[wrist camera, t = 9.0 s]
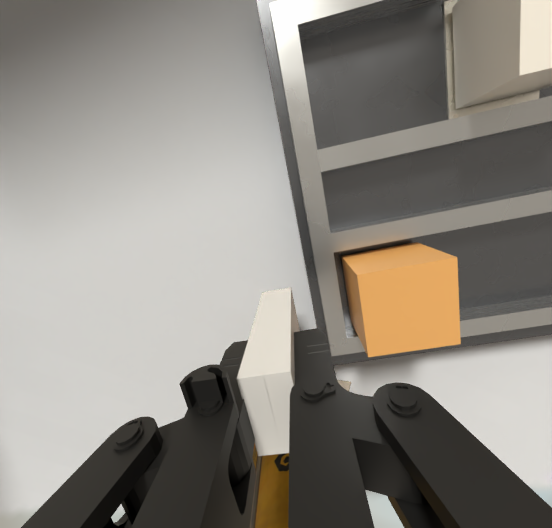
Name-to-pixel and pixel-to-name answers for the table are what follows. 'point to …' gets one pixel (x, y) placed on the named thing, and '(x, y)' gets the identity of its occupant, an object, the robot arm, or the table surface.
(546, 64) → the block
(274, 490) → the condiment
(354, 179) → the grey slotted tray
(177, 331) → the table surface
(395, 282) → the fader orange
